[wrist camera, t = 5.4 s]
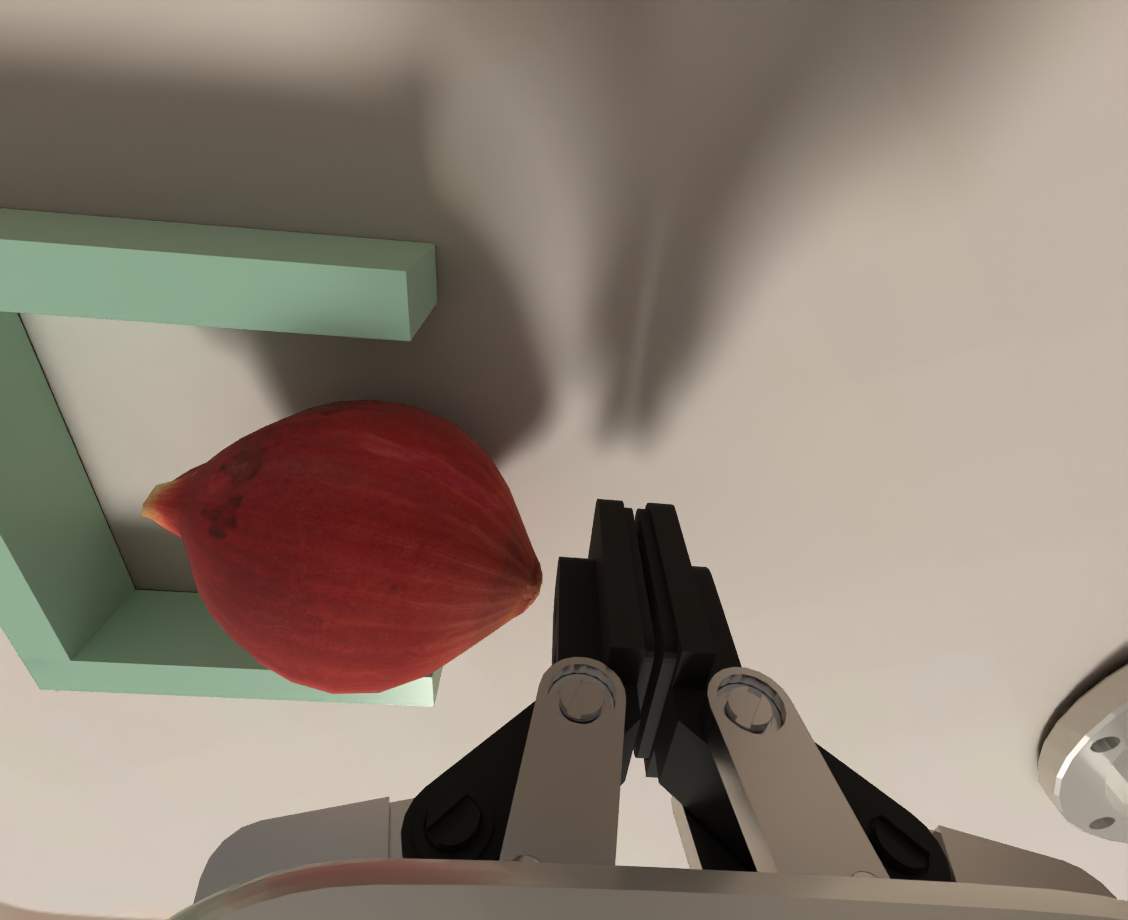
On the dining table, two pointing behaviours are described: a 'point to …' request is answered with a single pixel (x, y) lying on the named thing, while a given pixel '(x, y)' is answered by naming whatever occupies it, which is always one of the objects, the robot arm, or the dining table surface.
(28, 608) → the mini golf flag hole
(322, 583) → the onion
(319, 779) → the dining table surface
